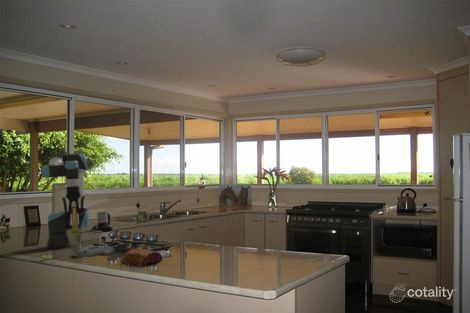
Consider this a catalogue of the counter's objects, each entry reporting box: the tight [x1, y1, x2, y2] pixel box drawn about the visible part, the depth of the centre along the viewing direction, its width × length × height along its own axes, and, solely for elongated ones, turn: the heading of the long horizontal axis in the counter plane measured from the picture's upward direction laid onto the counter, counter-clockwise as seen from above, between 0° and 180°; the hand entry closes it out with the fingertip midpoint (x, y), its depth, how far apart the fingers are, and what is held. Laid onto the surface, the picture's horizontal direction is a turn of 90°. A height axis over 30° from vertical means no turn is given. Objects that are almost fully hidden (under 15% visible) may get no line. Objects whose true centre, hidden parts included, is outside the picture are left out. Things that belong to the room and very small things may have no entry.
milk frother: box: [91, 211, 111, 231], centre depth 386 cm, size 14×16×15 cm
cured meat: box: [121, 248, 163, 268], centre depth 240 cm, size 18×25×7 cm
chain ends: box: [72, 245, 116, 259], centre depth 269 cm, size 10×22×4 cm, turn 121°
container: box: [98, 225, 117, 245], centre depth 296 cm, size 8×8×13 cm
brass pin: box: [71, 206, 79, 234], centre depth 276 cm, size 3×3×16 cm
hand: (74, 224), depth 276 cm, fingers closed on brass pin, 3 cm apart
